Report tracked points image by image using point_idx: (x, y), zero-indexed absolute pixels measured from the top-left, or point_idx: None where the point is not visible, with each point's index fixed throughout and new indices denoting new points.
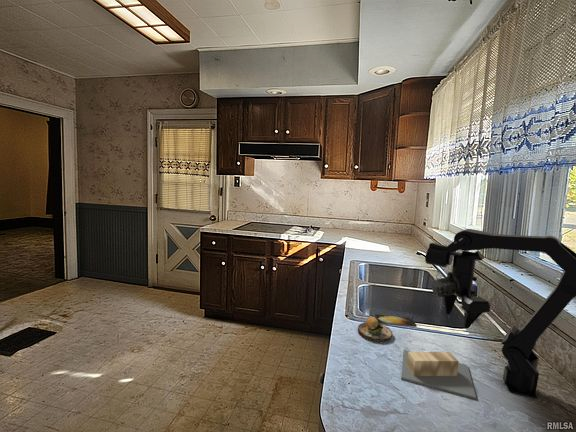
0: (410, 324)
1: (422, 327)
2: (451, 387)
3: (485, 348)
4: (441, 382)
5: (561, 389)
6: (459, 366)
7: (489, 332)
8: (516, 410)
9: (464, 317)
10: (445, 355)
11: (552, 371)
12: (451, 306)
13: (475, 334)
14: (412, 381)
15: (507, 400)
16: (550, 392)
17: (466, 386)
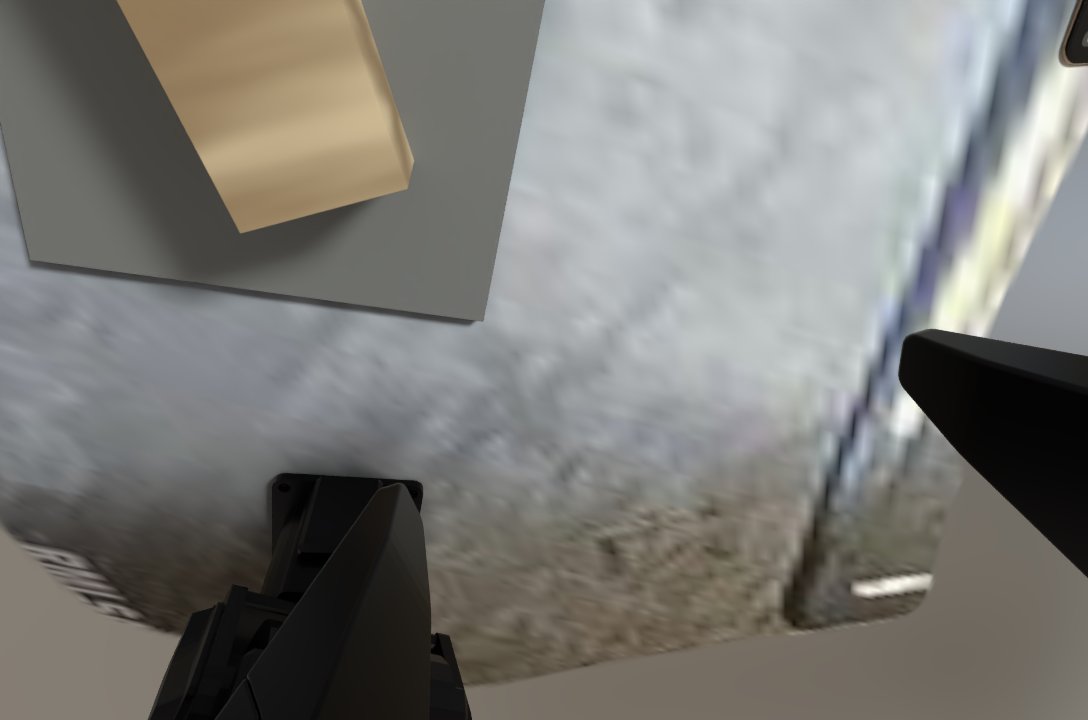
0: None
1: (1034, 117)
2: (51, 87)
3: (727, 475)
4: (79, 2)
5: None
6: (442, 258)
7: (893, 533)
8: (87, 457)
9: (310, 678)
10: (304, 114)
11: (559, 663)
12: (1033, 490)
13: (880, 465)
14: None
15: (173, 440)
16: None
17: (156, 230)
